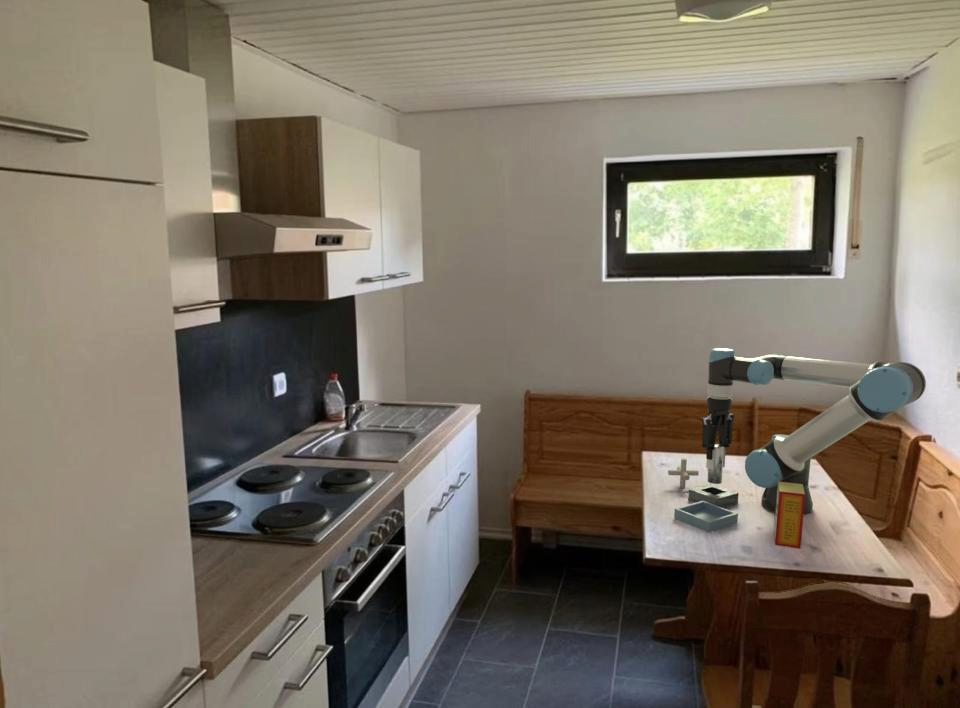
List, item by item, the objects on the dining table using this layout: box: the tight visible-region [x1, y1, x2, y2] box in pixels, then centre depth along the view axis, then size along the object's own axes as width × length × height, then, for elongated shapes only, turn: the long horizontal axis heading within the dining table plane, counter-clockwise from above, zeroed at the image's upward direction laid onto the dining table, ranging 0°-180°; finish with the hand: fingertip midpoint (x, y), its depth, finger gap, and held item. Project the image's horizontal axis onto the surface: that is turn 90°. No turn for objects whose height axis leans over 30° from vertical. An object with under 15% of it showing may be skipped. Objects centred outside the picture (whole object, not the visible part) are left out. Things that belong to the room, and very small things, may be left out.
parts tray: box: [673, 501, 739, 534], centre depth 219 cm, size 13×13×3 cm
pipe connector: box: [667, 457, 700, 489], centre depth 249 cm, size 10×10×10 cm
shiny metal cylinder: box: [707, 443, 724, 485], centre depth 234 cm, size 4×4×12 cm
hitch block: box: [687, 483, 740, 508], centre depth 236 cm, size 11×11×4 cm
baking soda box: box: [773, 481, 805, 550], centre depth 204 cm, size 10×6×16 cm
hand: (715, 467), depth 234 cm, fingers closed on shiny metal cylinder, 4 cm apart
